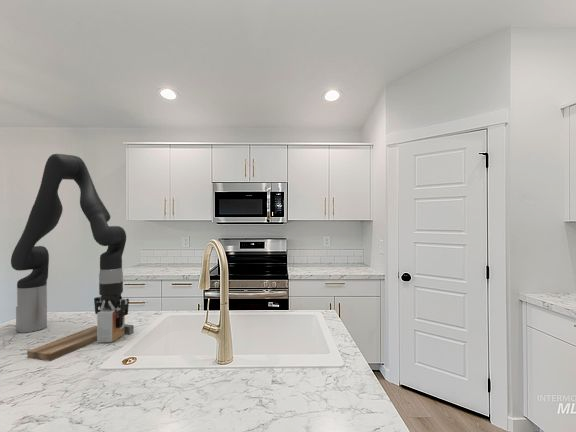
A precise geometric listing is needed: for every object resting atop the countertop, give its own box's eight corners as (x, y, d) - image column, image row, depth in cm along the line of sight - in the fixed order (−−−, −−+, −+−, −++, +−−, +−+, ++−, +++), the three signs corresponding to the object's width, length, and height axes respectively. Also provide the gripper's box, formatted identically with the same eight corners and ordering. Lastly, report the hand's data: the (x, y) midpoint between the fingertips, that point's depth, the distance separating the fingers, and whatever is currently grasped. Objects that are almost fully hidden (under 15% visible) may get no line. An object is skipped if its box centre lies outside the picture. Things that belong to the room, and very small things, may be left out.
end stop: (116, 333, 117) (116, 325, 117) (121, 331, 119) (121, 323, 119) (129, 334, 115) (129, 326, 115) (133, 332, 117) (133, 325, 117)
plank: (27, 357, 97) (27, 350, 97) (95, 330, 120) (95, 325, 120) (50, 361, 94) (50, 354, 94) (115, 333, 117) (115, 327, 117)
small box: (112, 342, 107) (112, 312, 107) (96, 342, 107) (96, 312, 107) (125, 334, 115) (125, 306, 115) (110, 334, 115) (110, 306, 115)
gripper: (86, 281, 110) (87, 328, 110) (118, 283, 106) (118, 332, 105) (104, 278, 117) (105, 321, 117) (135, 279, 113) (135, 325, 113)
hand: (111, 326), depth 111 cm, fingers closed on small box, 6 cm apart
